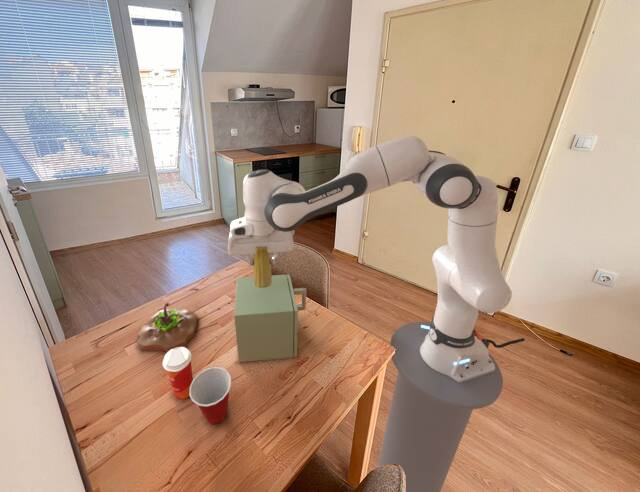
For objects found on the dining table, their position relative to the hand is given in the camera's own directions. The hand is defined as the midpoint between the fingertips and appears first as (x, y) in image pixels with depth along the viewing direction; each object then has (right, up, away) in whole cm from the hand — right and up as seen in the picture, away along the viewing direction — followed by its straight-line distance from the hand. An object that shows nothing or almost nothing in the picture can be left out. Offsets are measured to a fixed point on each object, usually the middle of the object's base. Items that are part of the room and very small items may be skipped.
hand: (261, 263), depth 93 cm
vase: (0, -7, +3) cm, 7 cm away
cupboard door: (+13, -27, +14) cm, 33 cm away
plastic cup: (-12, -40, -12) cm, 43 cm away
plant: (-35, -27, +16) cm, 47 cm away
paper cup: (-23, -37, -6) cm, 44 cm away
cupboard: (0, -28, +13) cm, 31 cm away
